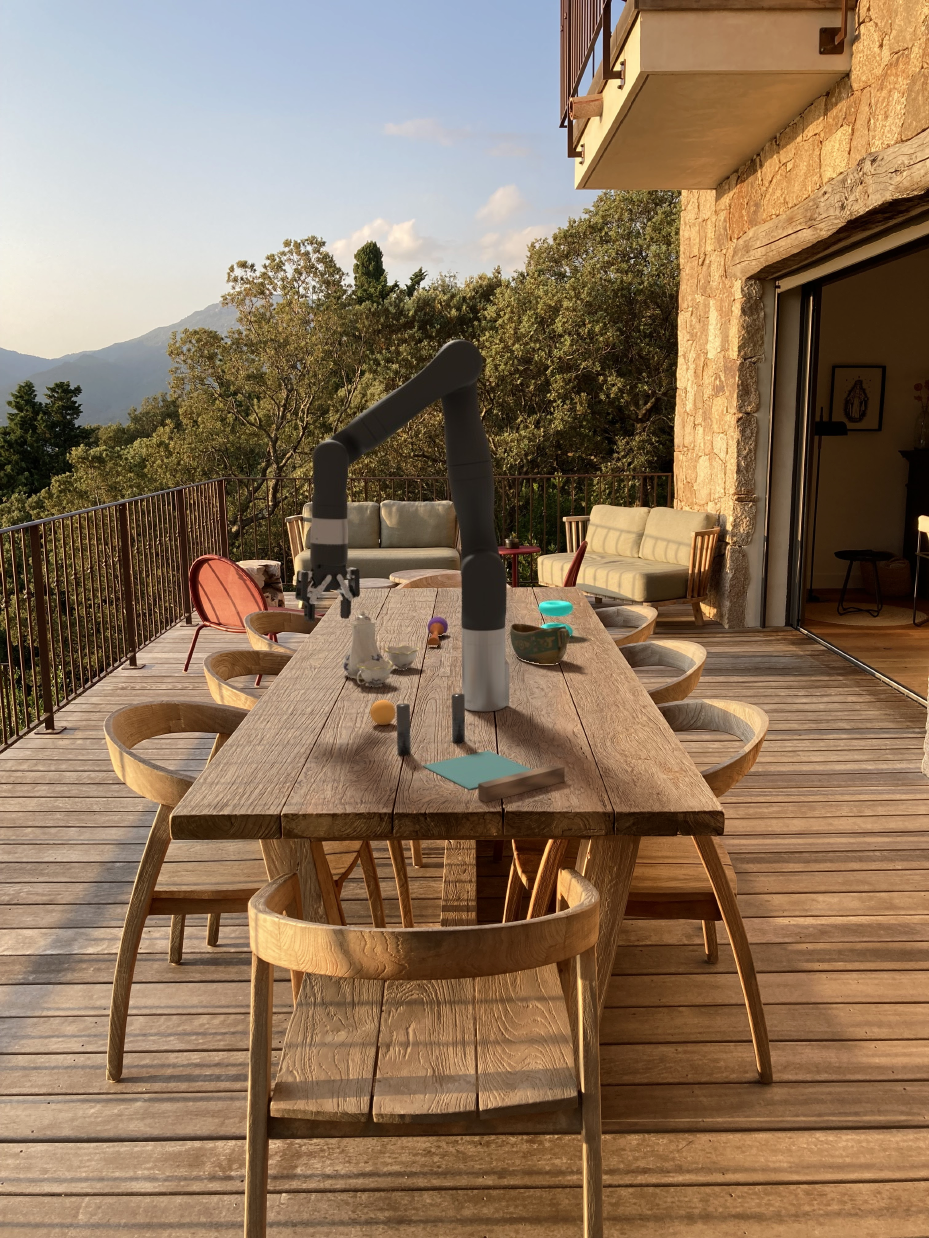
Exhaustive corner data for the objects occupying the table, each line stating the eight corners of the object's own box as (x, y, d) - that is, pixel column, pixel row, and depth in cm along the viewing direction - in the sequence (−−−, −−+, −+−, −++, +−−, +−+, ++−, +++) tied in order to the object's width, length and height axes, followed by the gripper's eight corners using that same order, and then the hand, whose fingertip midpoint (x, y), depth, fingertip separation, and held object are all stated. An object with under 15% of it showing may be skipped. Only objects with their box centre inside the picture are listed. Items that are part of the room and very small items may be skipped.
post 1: (406, 750, 171) (405, 702, 170) (413, 753, 169) (412, 705, 168) (395, 752, 170) (393, 704, 168) (401, 756, 168) (400, 707, 166)
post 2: (460, 738, 178) (459, 692, 176) (467, 741, 176) (467, 695, 174) (449, 741, 176) (449, 694, 175) (456, 744, 174) (456, 697, 173)
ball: (387, 719, 191) (387, 695, 190) (400, 725, 187) (399, 701, 186) (366, 723, 188) (365, 699, 187) (378, 729, 184) (377, 705, 183)
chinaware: (391, 699, 213) (396, 627, 210) (321, 688, 216) (326, 618, 213) (421, 670, 240) (427, 607, 237) (359, 661, 243) (364, 599, 240)
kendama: (420, 634, 259) (426, 616, 278) (425, 655, 260) (430, 635, 280) (441, 630, 258) (446, 612, 278) (446, 651, 260) (450, 631, 279)
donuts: (579, 603, 270) (549, 606, 265) (579, 638, 271) (549, 641, 267) (561, 599, 278) (532, 601, 274) (561, 632, 280) (532, 635, 276)
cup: (521, 670, 232) (521, 630, 230) (507, 654, 251) (508, 616, 250) (572, 669, 233) (573, 628, 232) (555, 653, 253) (555, 615, 251)
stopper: (556, 777, 156) (556, 763, 156) (564, 781, 155) (564, 766, 154) (478, 798, 147) (478, 783, 147) (485, 802, 146) (485, 787, 145)
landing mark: (488, 751, 170) (488, 750, 170) (536, 772, 159) (536, 771, 159) (422, 766, 162) (422, 765, 162) (469, 789, 151) (469, 788, 151)
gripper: (310, 543, 182) (308, 625, 185) (368, 541, 192) (366, 619, 195) (288, 540, 188) (287, 620, 190) (346, 538, 197) (345, 614, 200)
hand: (327, 619), depth 192 cm, fingers open, 8 cm apart
